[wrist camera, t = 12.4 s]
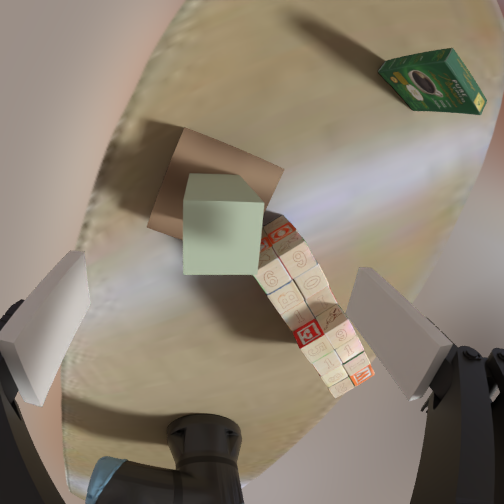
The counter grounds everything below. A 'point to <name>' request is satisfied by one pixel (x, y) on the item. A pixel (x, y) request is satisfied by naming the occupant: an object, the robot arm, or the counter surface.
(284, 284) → the stack of blocks
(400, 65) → the coffee box
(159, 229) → the walnut block
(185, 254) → the sage block
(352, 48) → the counter surface
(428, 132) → the counter surface
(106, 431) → the counter surface
